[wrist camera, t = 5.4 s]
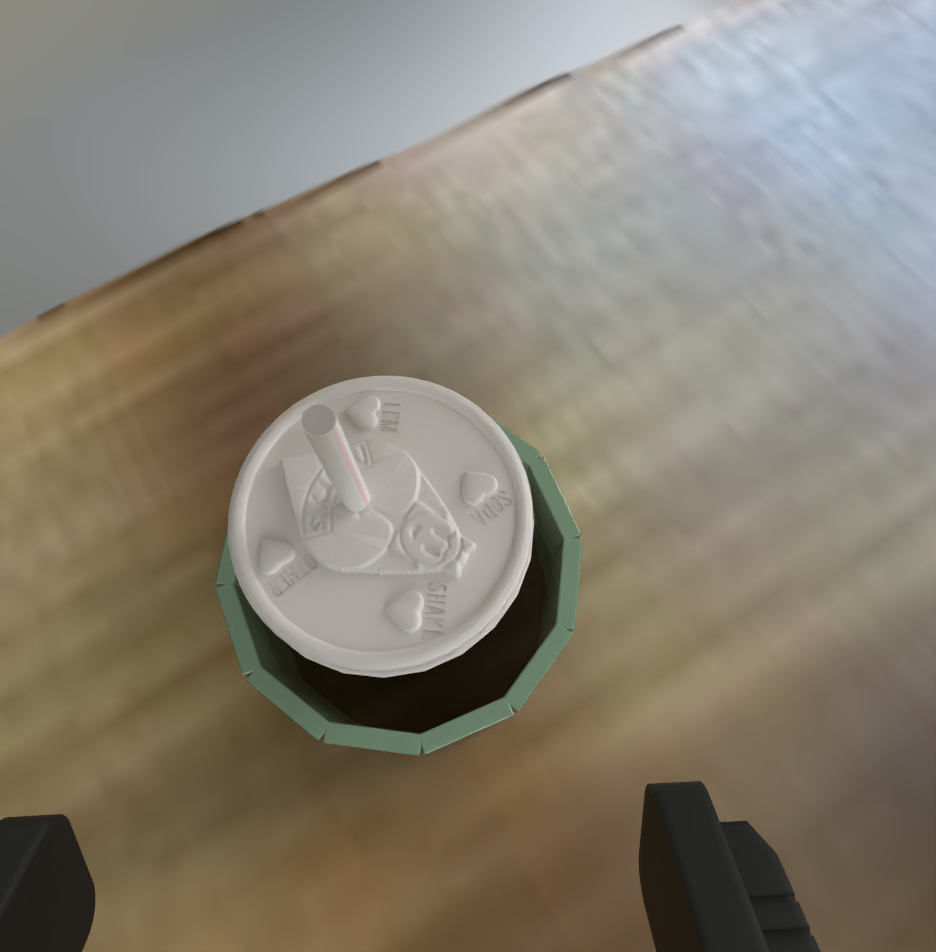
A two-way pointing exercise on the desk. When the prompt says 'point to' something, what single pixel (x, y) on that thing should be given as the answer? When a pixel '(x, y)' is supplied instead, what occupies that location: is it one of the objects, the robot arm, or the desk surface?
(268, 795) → the desk surface
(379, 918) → the desk surface
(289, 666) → the holder
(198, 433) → the desk surface
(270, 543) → the smoothie
